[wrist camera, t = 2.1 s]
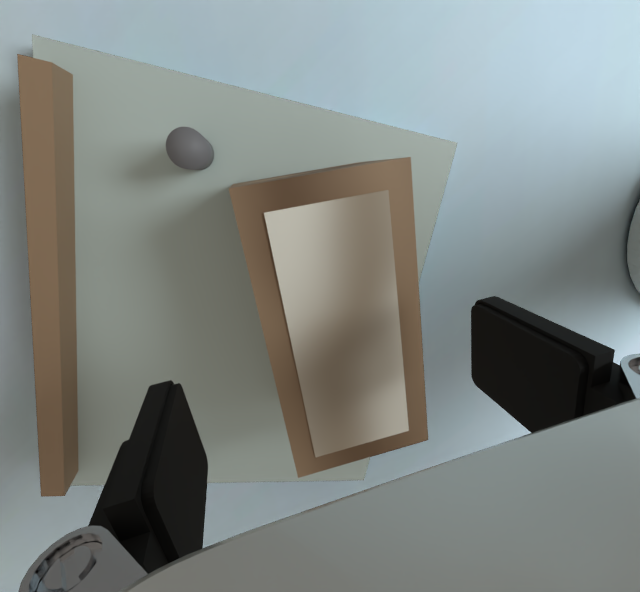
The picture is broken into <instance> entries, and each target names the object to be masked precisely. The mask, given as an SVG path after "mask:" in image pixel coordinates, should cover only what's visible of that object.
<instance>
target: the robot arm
mask: <svg viewBox="0 0 640 592" xmlns="http://www.w3.org/2000/svg"><path fill="white" fill-rule="evenodd" d="M627 262H628V267H629V272H630V277H631V279H632V281H633V283H634V286H635V288H636V289H637V290H638V292H639V293H640V200H639V203H638V205H637V207H636V210H635V213H634V216H633V219H632V222H631V225H630V231H629V237H628V243H627ZM614 352H615V350H614V349H611V348H609V347H607V346H605V345H602V344H600V343H598V342H596V341H594V340H591V339H589V338H587V337H585V336H583V335H580V334H578V333H576V332H574V331H571V330H569V329H567V328H565V327H563V326H560V325H558V324H556V323H554V322H552V321H549V320H547V319H545V318H543V317H541V316H538V315H536V314H534V313H532V312H529V311H527V310H525V309H523V308H521V307H518V306H516V305H514V304H512V303H510V302H507V301H505V300H503V299H501V298H499V297H496V296H493V297H489V298H485V299H481V300H478V301H477V302H476V303H475V306H473V307H472V310H471V360H472V379H473V381H474V383H475V385H476V386H477V387H478V388H480V389H481V390H482V391H483V392H484V393H485V394H487V395H488V396H489V397H490V398H491V399H493V400H494V401H495V402H496V403H497V404H498V405H500V406H501V407H502V408H503V409H504V410H505V411H507V412H508V413H509V414H510V415H511V416H513V417H514V418H515V419H516V420H517V421H518V422H520V423H521V424H522V425H523V426H524V427H525V428H527V429H528V430H529V431H530V432H531V434H528V435H525V436H522V437H519V438H516V439H513V440H510V441H507V442H504V443H501V444H498V445H495V446H492V447H489V448H486V449H483V450H480V451H477V452H474V453H471V454H468V455H465V456H462V457H460V458H457V459H454V460H451V461H448V462H445V463H442V464H439V465H436V466H433V467H430V468H427V469H424V470H422V471H419V472H416V473H413V474H410V475H407V476H404V477H401V478H398V479H395V480H392V481H390V482H387V483H384V484H381V485H378V486H375V487H372V488H369V489H367V490H364V491H361V492H358V493H355V494H352V495H349V496H347V497H344V498H341V499H338V500H335V501H332V502H329V503H326V504H324V505H321V506H318V507H315V508H312V509H309V510H306V511H304V512H301V513H298V514H295V515H292V516H289V517H286V518H284V519H281V520H278V521H275V522H272V523H269V524H266V525H264V526H261V527H258V528H255V529H252V530H249V531H246V532H244V533H241V534H239V535H236V536H234V537H231V538H228V539H226V540H223V541H221V542H218V543H216V544H213V545H211V546H208V547H205V548H203V549H202V546H203V532H204V518H205V504H206V490H207V476H208V461H207V456H206V453H205V450H204V447H203V444H202V441H201V439H200V436H199V433H198V430H197V427H196V424H195V422H194V419H193V416H192V413H191V410H190V408H189V405H188V402H187V399H186V396H185V393H184V391H183V388H182V385H181V384H180V383H178V384H174V383H173V381H172V380H169V381H165V382H161V383H158V384H154V385H150V386H149V388H148V391H147V393H146V396H145V399H144V401H143V404H142V406H141V409H140V412H139V414H138V417H137V420H136V422H135V425H134V427H133V430H132V433H131V435H130V438H129V440H126V441H124V442H123V443H122V445H121V446H120V448H119V451H118V453H117V456H116V458H115V461H114V463H113V466H112V468H111V471H110V473H109V476H108V478H107V481H106V483H105V486H104V488H103V491H102V493H101V496H100V498H99V501H98V503H97V506H96V508H95V511H94V513H93V516H92V518H91V521H90V523H89V526H88V527H84V528H80V529H78V530H75V531H73V532H71V533H69V534H67V535H65V536H64V537H62V538H61V539H59V540H58V541H57V542H55V543H54V544H52V545H51V546H50V547H49V548H48V549H47V550H46V551H45V552H43V553H42V554H41V555H40V556H39V557H38V559H37V560H36V561H35V562H34V563H33V565H32V566H31V567H30V568H29V570H28V571H27V573H26V575H25V577H24V578H23V580H22V582H21V585H20V588H19V592H640V354H633V355H628V356H626V357H624V358H623V359H622V360H621V361H620V365H618V364H616V363H614V362H613V358H614Z"/></svg>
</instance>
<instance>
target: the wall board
mask: <svg viewBox="0 0 640 592" xmlns="http://www.w3.org/2000/svg"><path fill="white" fill-rule="evenodd" d="M32 45H33V58H32V57H28V56H24V55H19V54H17V55H18V74H19V93H20V111H21V130H22V148H23V167H24V186H25V204H26V223H27V242H28V260H29V279H30V298H31V316H32V335H33V354H34V372H35V391H36V410H37V428H38V447H39V466H40V484H41V496H65V494H66V492H67V491H68V489H69V487H70V486H72V485H105V483H106V481H107V478H108V476H109V473H110V471H111V468H112V466H113V463H114V461H115V458H116V456H117V453H118V451H119V448H120V446H121V445H122V443H123V442H124V441H126V440H129V438H130V435H131V433H132V430H133V427H134V425H135V422H136V420H137V417H138V414H139V412H140V409H141V406H142V404H143V401H144V399H145V396H146V393H147V391H148V388H149V386H150V385H154V384H158V383H161V382H165V381H169V380H172V381H173V383H174V384H178V383H180V384H181V385H182V388H183V391H184V393H185V396H186V399H187V402H188V405H189V408H190V410H191V413H192V416H193V419H194V422H195V424H196V427H197V430H198V433H199V436H200V439H201V441H202V444H203V447H204V450H205V453H206V456H207V461H208V476H207V483H236V482H291V481H346V480H364V478H365V475H366V471H367V467H368V464H369V460H370V457H368V458H365V459H361V460H358V461H355V462H351V463H348V464H344V465H341V466H337V467H334V468H331V469H327V470H324V471H320V472H317V473H314V474H310V475H307V476H303V477H300V478H298V475H297V471H296V467H295V463H294V459H293V455H292V450H291V446H290V442H289V438H288V434H287V430H286V425H285V421H284V417H283V413H282V409H281V405H280V401H279V396H278V392H277V388H276V384H275V380H274V376H273V371H272V367H271V363H270V359H269V355H268V351H267V347H266V342H265V338H264V334H263V330H262V326H261V322H260V317H259V313H258V309H257V305H256V301H255V297H254V292H253V288H252V284H251V280H250V276H249V272H248V268H247V263H246V259H245V255H244V251H243V247H242V243H241V238H240V234H239V230H238V226H237V222H236V218H235V213H234V209H233V205H232V201H231V197H230V193H229V188H230V187H231V186H232V185H233V184H236V183H242V182H247V181H253V180H259V179H265V178H271V177H276V176H282V175H288V174H294V173H300V172H305V171H311V170H317V169H323V168H329V167H334V166H340V165H346V164H352V163H358V162H366V161H376V160H386V159H395V158H405V157H411V169H412V185H413V202H414V218H415V234H416V251H417V267H418V283H419V280H420V276H421V273H422V269H423V266H424V262H425V258H426V255H427V251H428V248H429V244H430V240H431V237H432V233H433V230H434V226H435V222H436V219H437V215H438V211H439V208H440V204H441V201H442V197H443V193H444V190H445V186H446V183H447V179H448V175H449V172H450V168H451V165H452V161H453V157H454V154H455V150H456V147H457V143H456V142H452V141H448V140H444V139H440V138H436V137H432V136H428V135H424V134H420V133H417V132H413V131H409V130H405V129H401V128H397V127H393V126H389V125H385V124H381V123H377V122H373V121H370V120H366V119H362V118H358V117H354V116H350V115H346V114H342V113H338V112H334V111H330V110H326V109H322V108H319V107H315V106H311V105H307V104H303V103H299V102H295V101H291V100H287V99H283V98H279V97H275V96H272V95H268V94H264V93H260V92H256V91H252V90H248V89H244V88H240V87H236V86H232V85H228V84H224V83H221V82H217V81H213V80H209V79H205V78H201V77H197V76H193V75H189V74H185V73H181V72H177V71H174V70H170V69H166V68H162V67H158V66H154V65H150V64H146V63H142V62H138V61H134V60H130V59H126V58H123V57H119V56H115V55H111V54H107V53H103V52H99V51H95V50H91V49H87V48H83V47H79V46H75V45H72V44H68V43H64V42H60V41H56V40H52V39H48V38H44V37H40V36H36V35H32Z"/></svg>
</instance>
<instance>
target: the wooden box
mask: <svg viewBox="0 0 640 592" xmlns="http://www.w3.org/2000/svg"><path fill="white" fill-rule="evenodd" d="M229 193H230V197H231V201H232V205H233V209H234V213H235V218H236V222H237V226H238V230H239V234H240V238H241V243H242V247H243V251H244V255H245V259H246V263H247V268H248V272H249V276H250V280H251V284H252V288H253V292H254V297H255V301H256V305H257V309H258V313H259V317H260V322H261V326H262V330H263V334H264V338H265V342H266V347H267V351H268V355H269V359H270V363H271V367H272V371H273V376H274V380H275V384H276V388H277V392H278V396H279V401H280V405H281V409H282V413H283V417H284V421H285V425H286V430H287V434H288V438H289V442H290V446H291V450H292V455H293V459H294V463H295V467H296V471H297V475H298V478H300V477H303V476H307V475H310V474H314V473H317V472H320V471H324V470H327V469H331V468H334V467H337V466H341V465H344V464H348V463H351V462H355V461H358V460H361V459H365V458H368V457H372V456H375V455H378V454H382V453H385V452H389V451H392V450H395V449H399V448H402V447H406V446H409V445H413V444H416V443H419V442H423V441H426V440H428V430H427V413H426V397H425V381H424V365H423V348H422V332H421V316H420V299H419V283H418V267H417V251H416V234H415V218H414V202H413V185H412V169H411V157H405V158H395V159H386V160H376V161H366V162H358V163H352V164H346V165H340V166H334V167H329V168H323V169H317V170H311V171H305V172H300V173H294V174H288V175H282V176H276V177H271V178H265V179H259V180H253V181H247V182H242V183H236V184H233V185H232V186H231V187H230V188H229Z"/></svg>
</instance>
